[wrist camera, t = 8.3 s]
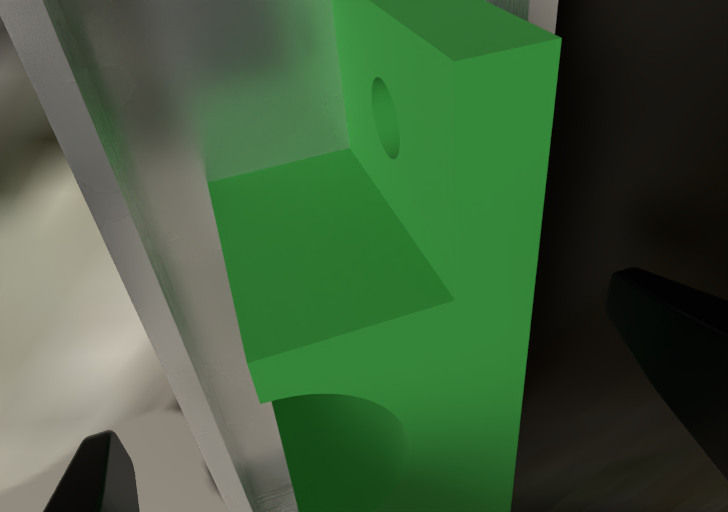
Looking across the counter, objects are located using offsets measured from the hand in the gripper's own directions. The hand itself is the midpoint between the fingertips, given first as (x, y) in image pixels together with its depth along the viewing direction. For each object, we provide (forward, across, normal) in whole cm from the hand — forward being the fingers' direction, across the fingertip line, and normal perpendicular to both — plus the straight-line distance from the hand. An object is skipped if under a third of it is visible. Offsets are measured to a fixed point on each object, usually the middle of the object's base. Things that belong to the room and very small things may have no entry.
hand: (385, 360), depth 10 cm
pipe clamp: (+3, 0, 0) cm, 3 cm away
